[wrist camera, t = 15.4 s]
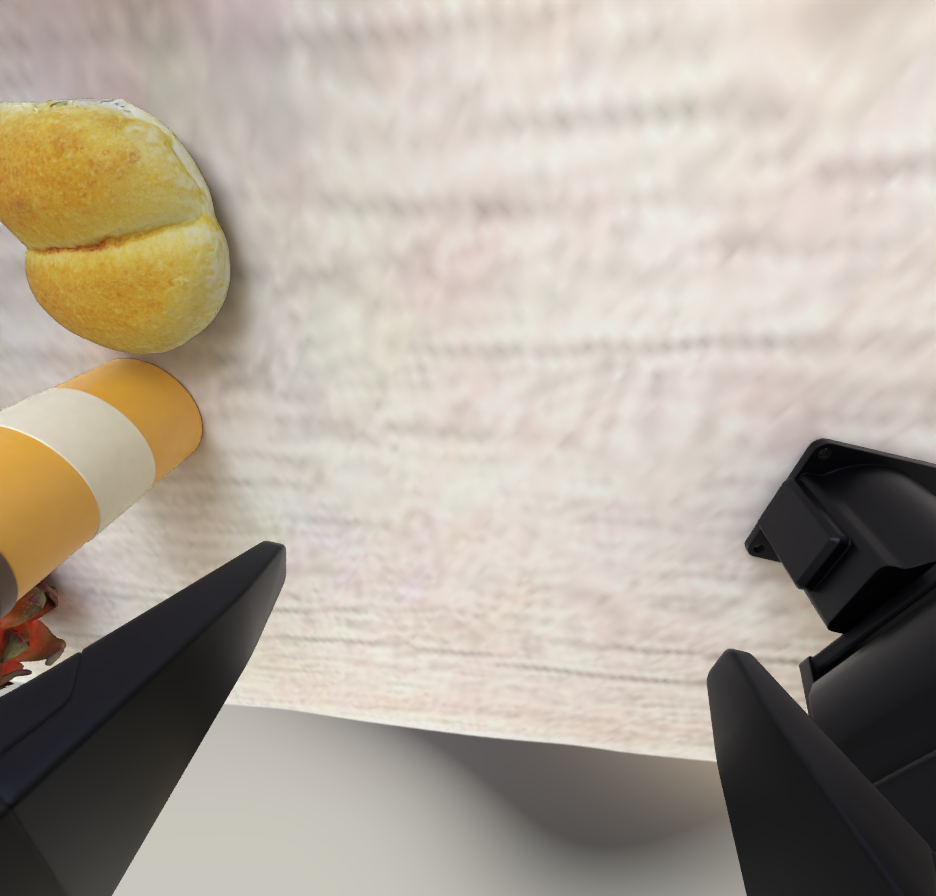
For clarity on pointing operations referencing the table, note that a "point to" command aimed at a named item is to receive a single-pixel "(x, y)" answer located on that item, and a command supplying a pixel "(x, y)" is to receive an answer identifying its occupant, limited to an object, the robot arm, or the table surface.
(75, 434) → the tube
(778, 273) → the table surface
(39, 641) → the dragon fruit
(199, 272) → the bread roll
